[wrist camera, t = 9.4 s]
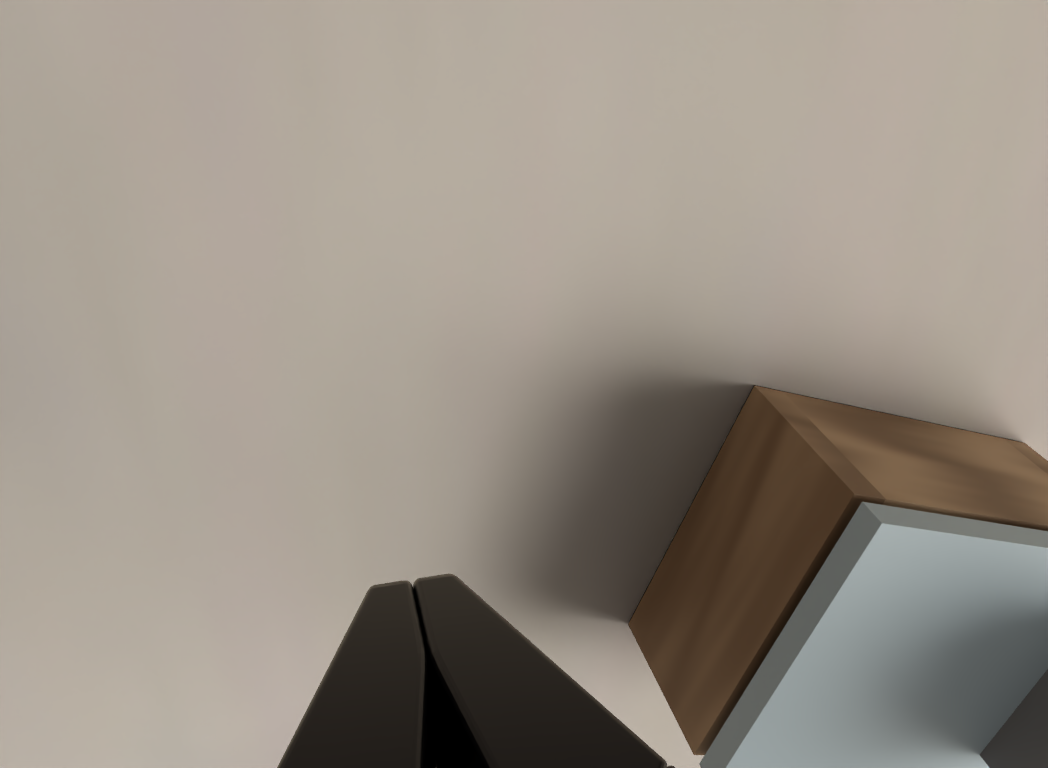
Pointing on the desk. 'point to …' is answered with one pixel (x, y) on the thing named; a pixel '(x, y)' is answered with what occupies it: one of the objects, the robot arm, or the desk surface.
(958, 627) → the lid
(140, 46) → the desk surface
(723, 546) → the box
